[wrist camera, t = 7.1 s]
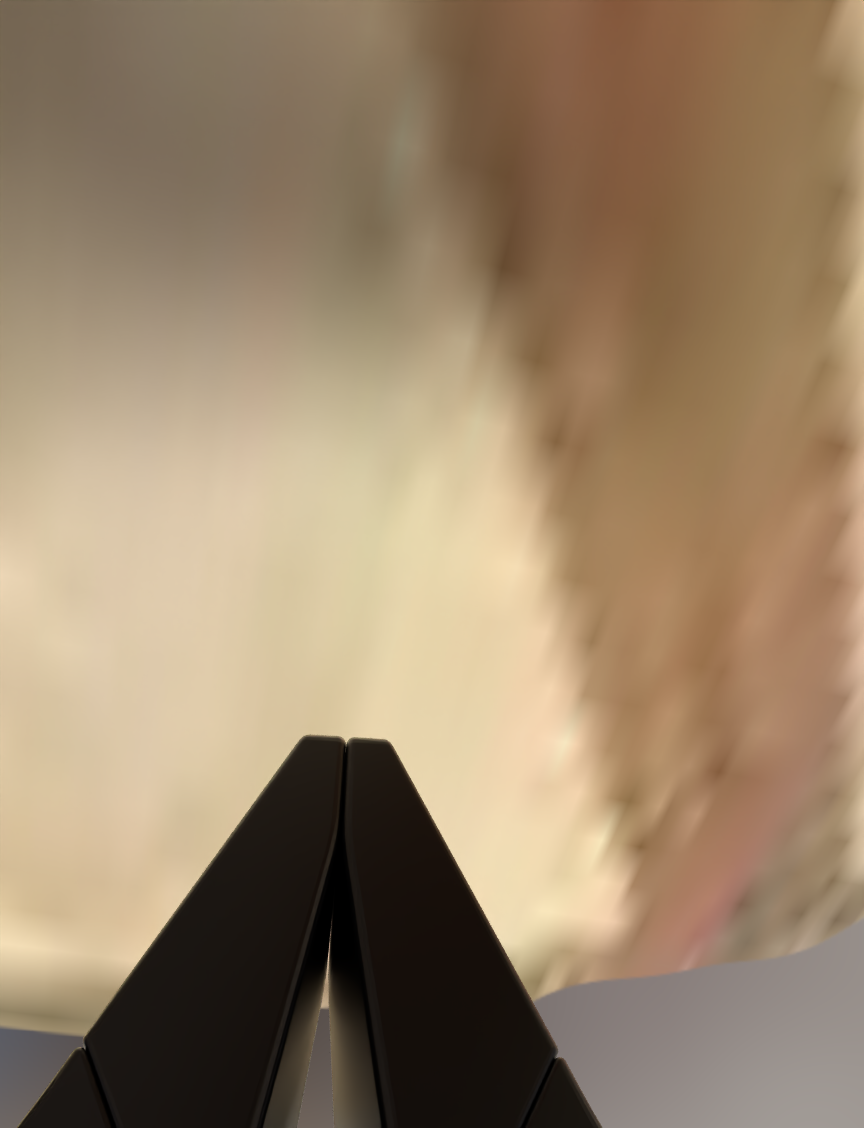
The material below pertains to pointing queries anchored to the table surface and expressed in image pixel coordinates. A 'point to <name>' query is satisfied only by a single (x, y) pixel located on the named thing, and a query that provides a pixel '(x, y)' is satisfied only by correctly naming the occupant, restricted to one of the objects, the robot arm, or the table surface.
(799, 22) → the table surface
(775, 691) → the table surface
